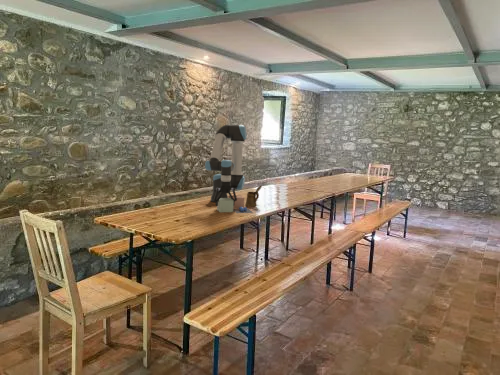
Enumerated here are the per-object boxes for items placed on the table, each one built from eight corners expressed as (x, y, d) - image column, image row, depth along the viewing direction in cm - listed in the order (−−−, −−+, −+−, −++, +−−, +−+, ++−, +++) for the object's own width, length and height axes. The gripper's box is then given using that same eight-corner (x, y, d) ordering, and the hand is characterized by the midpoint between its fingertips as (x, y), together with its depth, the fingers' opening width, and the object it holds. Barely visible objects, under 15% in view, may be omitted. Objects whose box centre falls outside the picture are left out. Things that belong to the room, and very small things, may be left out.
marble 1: (238, 210, 286) (238, 206, 285) (242, 210, 287) (242, 206, 286) (239, 211, 283) (239, 207, 282) (243, 211, 284) (243, 207, 283)
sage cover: (217, 209, 286) (217, 198, 285) (230, 209, 289) (230, 198, 288) (219, 212, 276) (220, 200, 275) (233, 212, 279) (233, 200, 278)
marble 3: (242, 210, 285) (242, 206, 285) (246, 210, 286) (246, 206, 285) (243, 211, 282) (243, 207, 282) (247, 211, 283) (247, 207, 283)
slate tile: (232, 209, 288) (232, 209, 288) (248, 209, 291) (248, 209, 291) (236, 213, 276) (236, 213, 275) (253, 213, 279) (253, 212, 279)
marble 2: (239, 211, 283) (239, 207, 282) (243, 211, 283) (243, 207, 283) (240, 212, 280) (240, 208, 279) (244, 211, 281) (244, 208, 280)
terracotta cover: (228, 206, 299) (228, 195, 297) (240, 206, 302) (240, 195, 300) (231, 209, 289) (231, 198, 288) (243, 209, 292) (244, 197, 290)
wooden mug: (257, 208, 298) (258, 185, 296) (243, 205, 305) (244, 183, 302) (263, 206, 306) (264, 184, 303) (248, 204, 313) (249, 182, 310)
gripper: (211, 181, 272) (210, 211, 276) (241, 181, 279) (240, 210, 282) (209, 180, 280) (209, 209, 283) (239, 180, 286) (238, 208, 289)
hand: (225, 210), depth 283 cm, fingers closed on sage cover, 10 cm apart
